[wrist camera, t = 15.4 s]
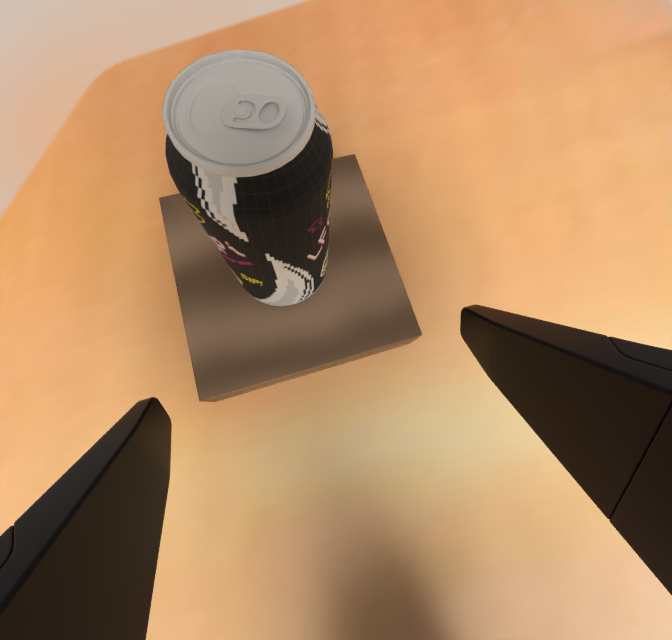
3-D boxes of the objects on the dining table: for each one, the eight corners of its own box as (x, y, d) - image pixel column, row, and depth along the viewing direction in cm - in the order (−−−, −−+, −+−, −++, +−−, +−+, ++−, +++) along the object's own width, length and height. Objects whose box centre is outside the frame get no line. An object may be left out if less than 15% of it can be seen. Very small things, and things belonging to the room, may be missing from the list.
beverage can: (318, 317, 21) (315, 204, 9) (228, 300, 21) (110, 166, 9) (334, 236, 22) (349, 49, 10) (250, 221, 22) (173, 17, 10)
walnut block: (409, 343, 24) (421, 334, 21) (215, 401, 22) (199, 401, 19) (350, 181, 27) (354, 154, 24) (177, 221, 25) (158, 198, 22)
